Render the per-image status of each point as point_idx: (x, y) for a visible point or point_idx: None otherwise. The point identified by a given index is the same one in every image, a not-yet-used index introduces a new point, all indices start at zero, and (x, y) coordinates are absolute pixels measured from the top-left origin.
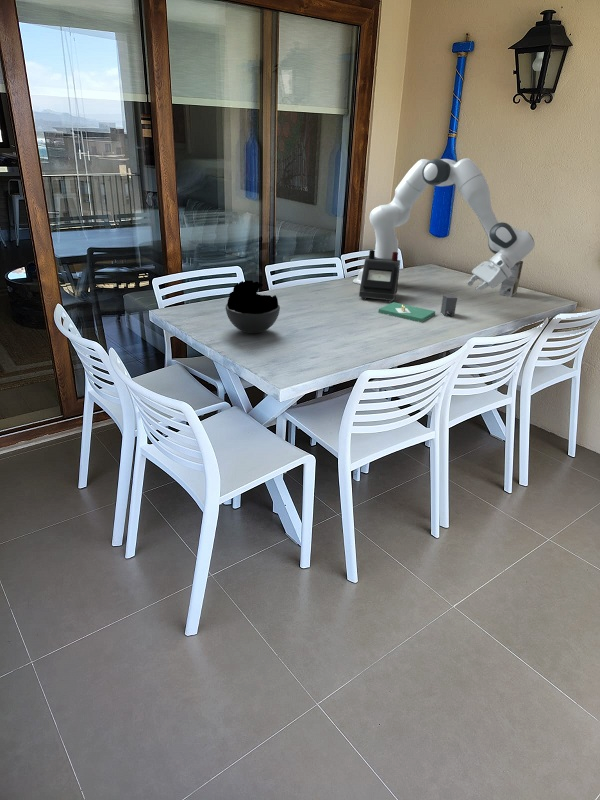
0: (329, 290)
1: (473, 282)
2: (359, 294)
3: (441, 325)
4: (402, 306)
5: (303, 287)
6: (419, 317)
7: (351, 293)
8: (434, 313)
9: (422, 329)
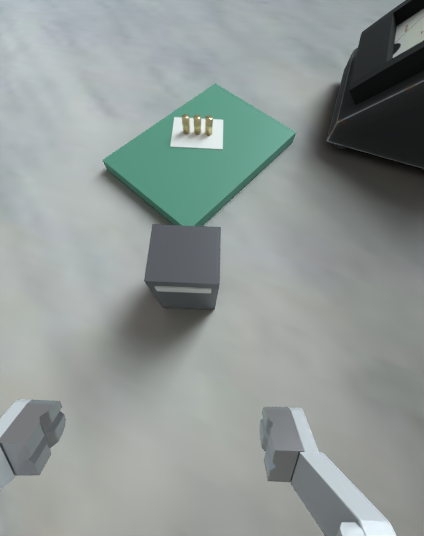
0: None
1: (299, 496)
2: (347, 63)
3: (60, 218)
4: (196, 116)
5: None
6: (117, 157)
7: None
8: None
9: (39, 153)
